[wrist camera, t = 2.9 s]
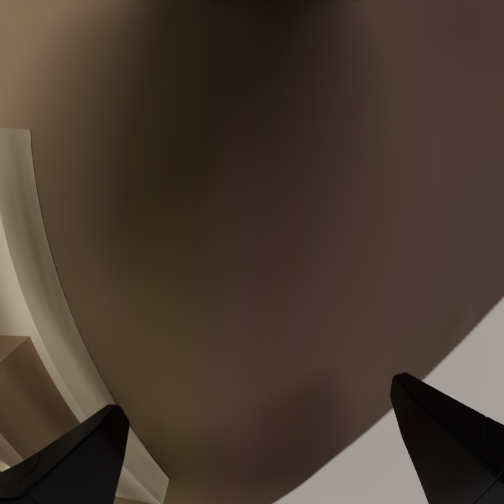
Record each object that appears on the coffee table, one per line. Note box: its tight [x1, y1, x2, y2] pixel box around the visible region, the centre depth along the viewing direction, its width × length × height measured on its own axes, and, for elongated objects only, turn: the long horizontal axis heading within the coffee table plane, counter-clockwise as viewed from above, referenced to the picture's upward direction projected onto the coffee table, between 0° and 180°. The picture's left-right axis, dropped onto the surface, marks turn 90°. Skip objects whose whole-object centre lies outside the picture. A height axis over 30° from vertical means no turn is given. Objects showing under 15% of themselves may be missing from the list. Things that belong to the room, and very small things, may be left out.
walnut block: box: [0, 335, 80, 467], centre depth 7 cm, size 6×6×4 cm
